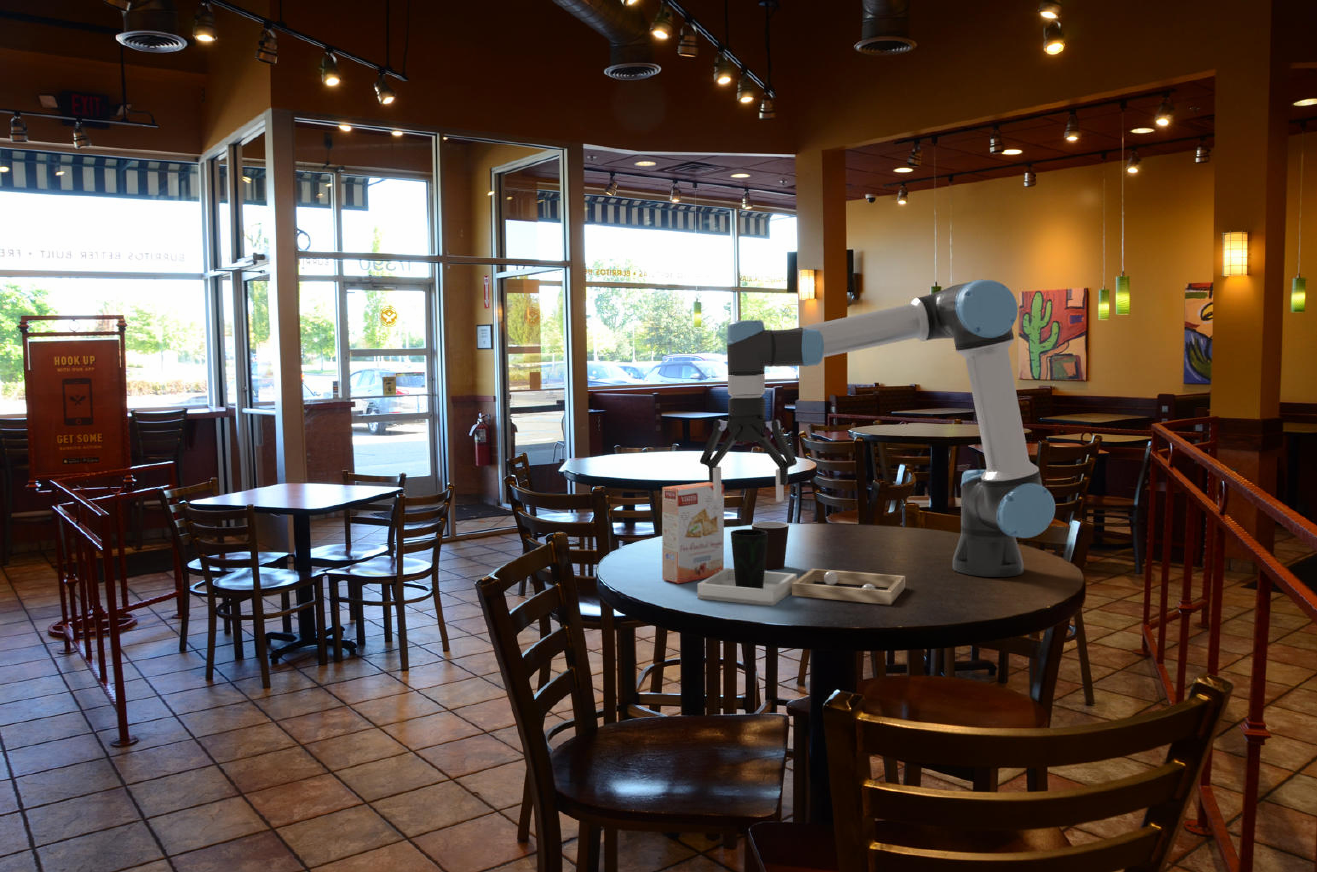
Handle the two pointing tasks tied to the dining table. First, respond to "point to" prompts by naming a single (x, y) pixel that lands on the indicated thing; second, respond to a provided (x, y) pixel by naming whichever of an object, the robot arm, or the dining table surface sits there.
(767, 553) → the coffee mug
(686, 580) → the cracker box
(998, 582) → the dining table surface
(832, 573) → the pebble
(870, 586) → the pebble
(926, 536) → the dining table surface
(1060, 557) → the dining table surface
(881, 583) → the frame
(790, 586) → the bin
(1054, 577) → the dining table surface
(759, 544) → the cup
